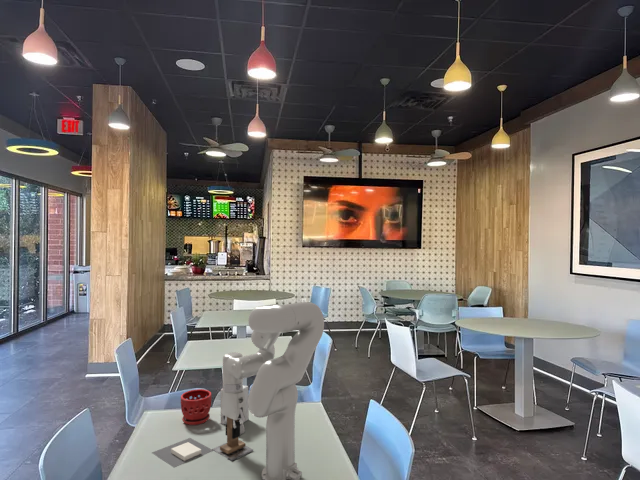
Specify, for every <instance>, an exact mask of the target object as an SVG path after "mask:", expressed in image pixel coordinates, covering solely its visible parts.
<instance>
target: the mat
mask: <svg viewBox="0 0 640 480" xmlns="http://www.w3.org/2000/svg"><path fill="white" fill-rule="evenodd" d="M187 442H189V443H191V444H192V445H194V446H196V447H198V448H200V449H201V454H199V455H197V456H195V457H192V458H190V459H188V460H185V461H184V460H182V459H180V458H179V457H177V456H175V455H174V454H172V453H171V449H172V448H174V447H177V446H179V445H182V444H184V443H187ZM212 449H213V448H212ZM212 449H211V448H209V447H208V446H206V445H204V444H203V443H201V442H199V441H197V440H194V439H193V438H191V437H188V438H185V439H183V440H180V441H177V442H176V443H173V444H170V445H168V446H165V447H163V448H161V449H158V450H155V451H153V452H151V454H153V455H155V456H156V457H157V458H158V459H160V460H162V461H163V462H165V463H167V464H168V465H170V466H171V467H173V468H176V467H179V466H182V465H184V464H186V463H189V462H190V461H193V460H195V459H197V458H200V457H202V456H204V455H208V454H209V453H212V452H213V451H214V450H212ZM214 452H215V451H214Z"/></svg>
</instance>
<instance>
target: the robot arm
mask: <svg viewBox="0 0 640 480" xmlns="http://www.w3.org/2000/svg"><path fill="white" fill-rule="evenodd" d="M248 326H249V328H250V330H252V333H251V335H250V339H251V342H252V344H253V345H254V346H255V347H256V348H257V349H258V351H257V352H256V353H252V354H248V355H244V356H243V354H242V353H240V352H236V351H235V352H232V351H231V352H227V353H225V354H224V355H223V357H222V389H223V391H222V398H221V397H220V415H221V414H222V416H223V418H224V420H225V424H224V425H225V436H227V417H229V418H231V419H233V428H232V438H233V439H235V438H237V437H238V438H240V436H241V435H240V426H241V424H242V423H243V424H244V423H246V421H245V418H244V417H246V400H245V394H244V391H243V385H244V379H248V378H250V377H252V376H255V378H254V380H253V383H252V384H251V388H250V391H249V392H248V407H249V412H250V414H251V415H252V416H254V417H255V418H265V417H267V418H266V426H265V427H266V433H265V437H266V438H265V440H266V441H265V442H266V443H265V445H266V446H265V447H266V448H265V450H266V451H265V452H266V453H265V455H266V456H265V457H266V459H265V460H266V461H265V467H264V468H263V469H262V471H261V479H262V480H300V478H301V476H302V473H303V472H302V471H301V470H300V469H299V467H298V463H297V462H296V461H295V459H296V458H295V456H296V455H295V452H296V450H295V448H296V447H295V446H296V445H295V442H296V441H295V440H296V439H295V436H296V435H295V434H296V433H295V432H296V429H295V428H296V426H295V425H296V422H295V421H296V410H297V404H298V398H299V391H298V387H297V385H296V384H297V383H299V382H300V381H301V380H302V379H303V377H304V375H305V373H306V370H307V369H308V366H309V364H310V362H311V360H312V357H313V354H314V352H315V350H316V348H317V346H318V345H319V343H320V341H321V339H322V337H323V333H324V331H325V330H324V328H325V318H324V315H323V311H322V309H321V307H319V305H317V304H316V303H313V302H311V301H310V302H308V301H301V302H294V303H288V304H287V303H286V304H278V303H276V304H275V303H274V304H272V303H271V304H266V305H260V306H256V307H254V308H253V309H252V310H251V311H250V313H249V315H248ZM294 331H297V332H296V333H295V334H294V336H292V338H291V339H290V340H289V343H288V344H287V347H286V349H285V350H284V351H285V352H284V353H283V354H282V355H281V356H278V357H275V352H276V351H275V350H276V349H275V348H276V347H275V343H276V341H277V340H278V339H279V337H280V336H281V334H284V333H285V334H286V333H289V332H294ZM237 420H238V422H237V423H236V421H237Z"/></svg>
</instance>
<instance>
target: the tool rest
mask: <svg viewBox="0 0 640 480" xmlns="http://www.w3.org/2000/svg"><path fill="white" fill-rule="evenodd" d="M225 444H227V442H225V443H223V444H220V445H218V446H216V447H214V448H213V447H212V450H214V452H215V453H217V454H220V456H222V457H225V458H226V459H227V460H229V461H230V462H233V461H235V460H237V459H240V458H242V457H244V456H246V455H248V454H250V453H253V452H254V449H253V448H251V447H249V446H247V445H245V447H243V448H241V449H238V450H236V451H234V452H232V453H230V454H227V453H225V452H223V451H221V450H220V446H223V445H225Z"/></svg>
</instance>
